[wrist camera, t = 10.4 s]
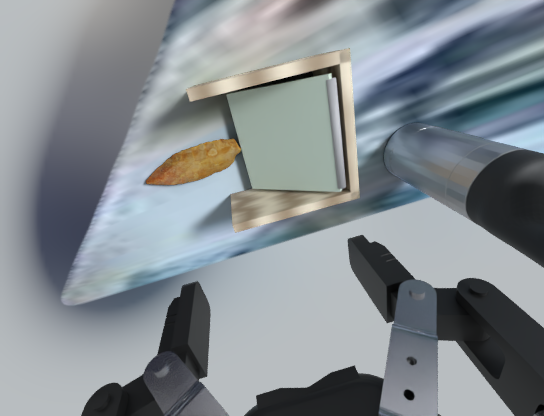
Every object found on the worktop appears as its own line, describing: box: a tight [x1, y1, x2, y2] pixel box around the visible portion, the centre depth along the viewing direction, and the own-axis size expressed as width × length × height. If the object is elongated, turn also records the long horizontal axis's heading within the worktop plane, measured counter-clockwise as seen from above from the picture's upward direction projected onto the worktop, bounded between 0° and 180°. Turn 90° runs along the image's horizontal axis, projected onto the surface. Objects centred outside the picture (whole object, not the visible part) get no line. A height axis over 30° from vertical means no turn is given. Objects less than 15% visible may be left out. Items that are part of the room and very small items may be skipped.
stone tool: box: [146, 139, 241, 185], centre depth 39 cm, size 5×2×15 cm
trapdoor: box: [226, 73, 346, 192], centre depth 35 cm, size 15×14×1 cm
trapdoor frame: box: [186, 48, 360, 233], centre depth 36 cm, size 17×18×10 cm
